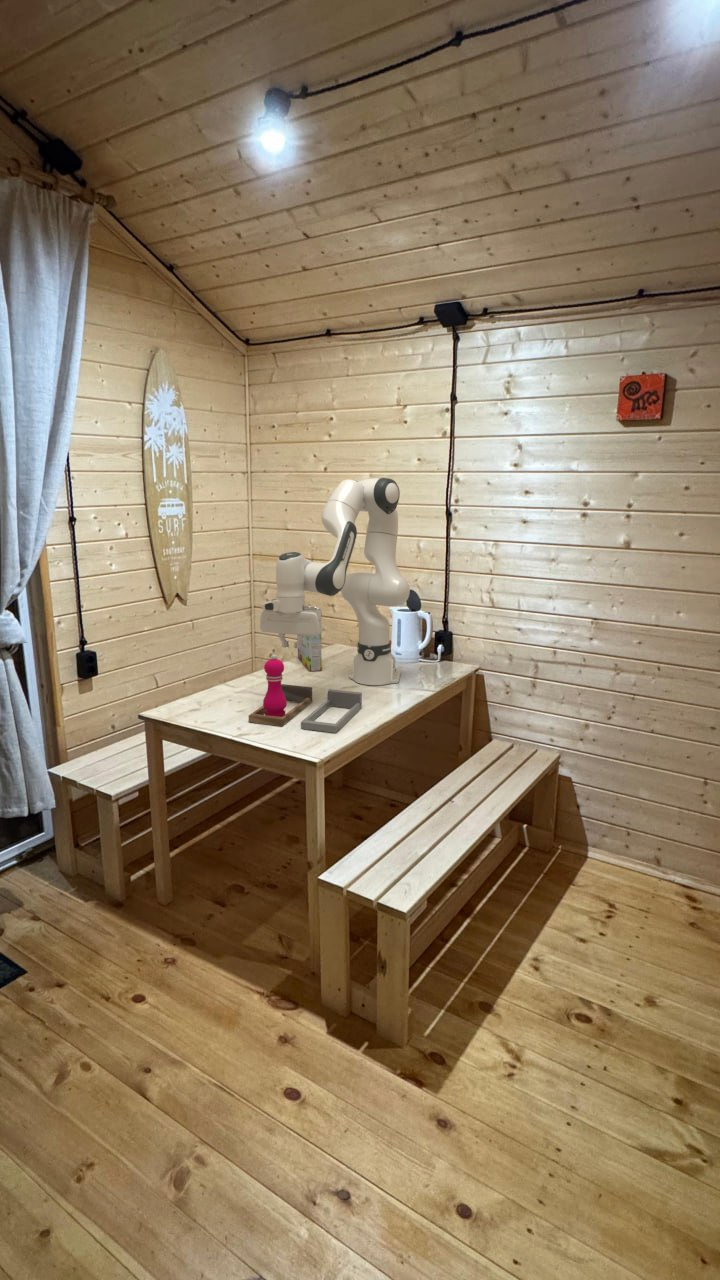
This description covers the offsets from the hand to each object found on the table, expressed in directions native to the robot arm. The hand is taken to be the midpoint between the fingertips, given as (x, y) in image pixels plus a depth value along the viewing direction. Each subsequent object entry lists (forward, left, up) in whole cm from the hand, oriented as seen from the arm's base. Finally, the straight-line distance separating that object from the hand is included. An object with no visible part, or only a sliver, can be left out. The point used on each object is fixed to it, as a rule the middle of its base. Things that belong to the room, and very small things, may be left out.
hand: (291, 647), depth 221 cm
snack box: (-47, -13, -19) cm, 53 cm away
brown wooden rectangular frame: (+8, 0, -19) cm, 21 cm away
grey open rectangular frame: (+8, +17, -19) cm, 27 cm away
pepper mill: (+13, 0, -19) cm, 23 cm away
